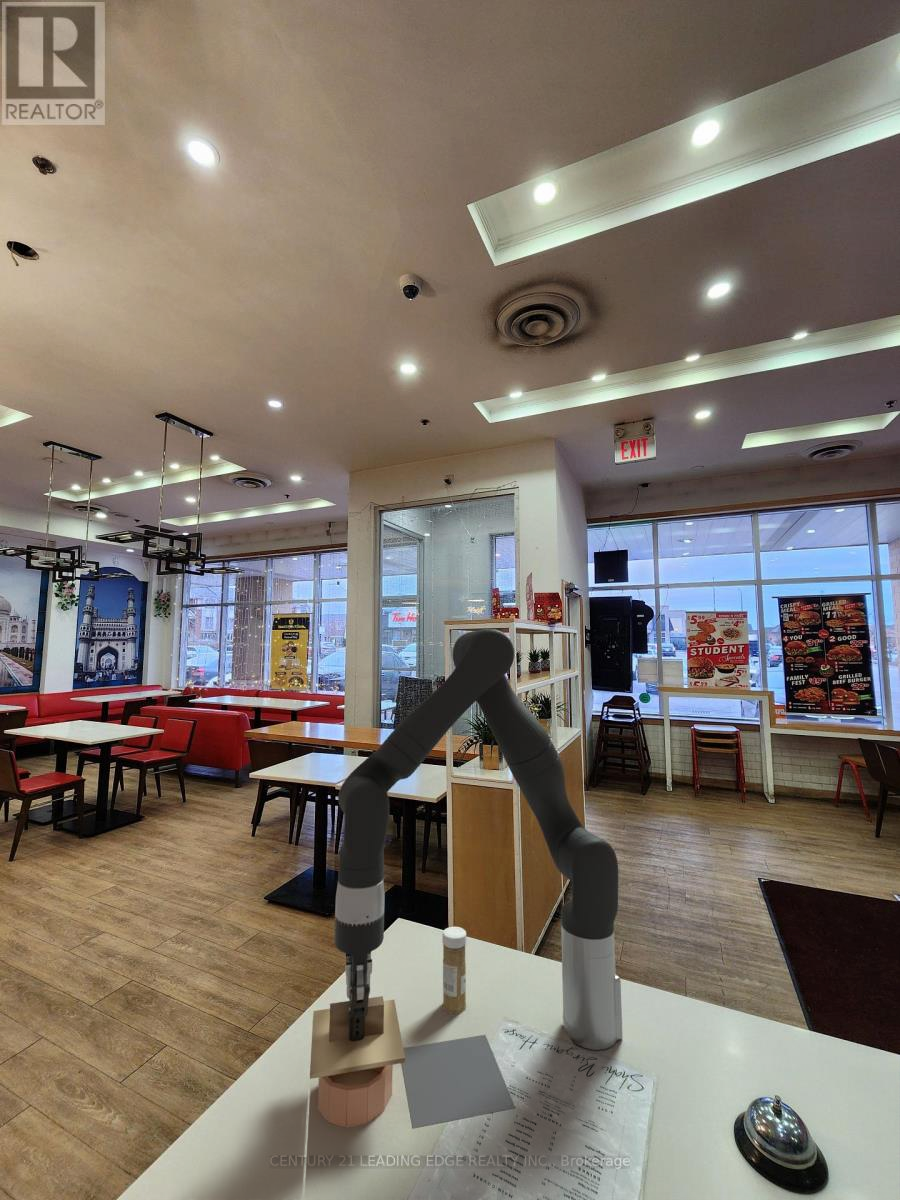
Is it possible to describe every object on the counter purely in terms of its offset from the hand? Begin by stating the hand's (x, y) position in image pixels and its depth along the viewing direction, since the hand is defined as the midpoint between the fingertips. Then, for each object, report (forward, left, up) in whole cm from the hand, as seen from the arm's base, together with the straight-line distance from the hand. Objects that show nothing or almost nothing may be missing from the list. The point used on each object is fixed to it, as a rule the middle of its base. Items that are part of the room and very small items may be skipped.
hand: (356, 1032), depth 77 cm
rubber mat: (-15, 0, -9) cm, 17 cm away
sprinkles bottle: (-19, -16, -9) cm, 26 cm away
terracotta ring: (0, 0, -9) cm, 9 cm away
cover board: (0, 0, -1) cm, 1 cm away
